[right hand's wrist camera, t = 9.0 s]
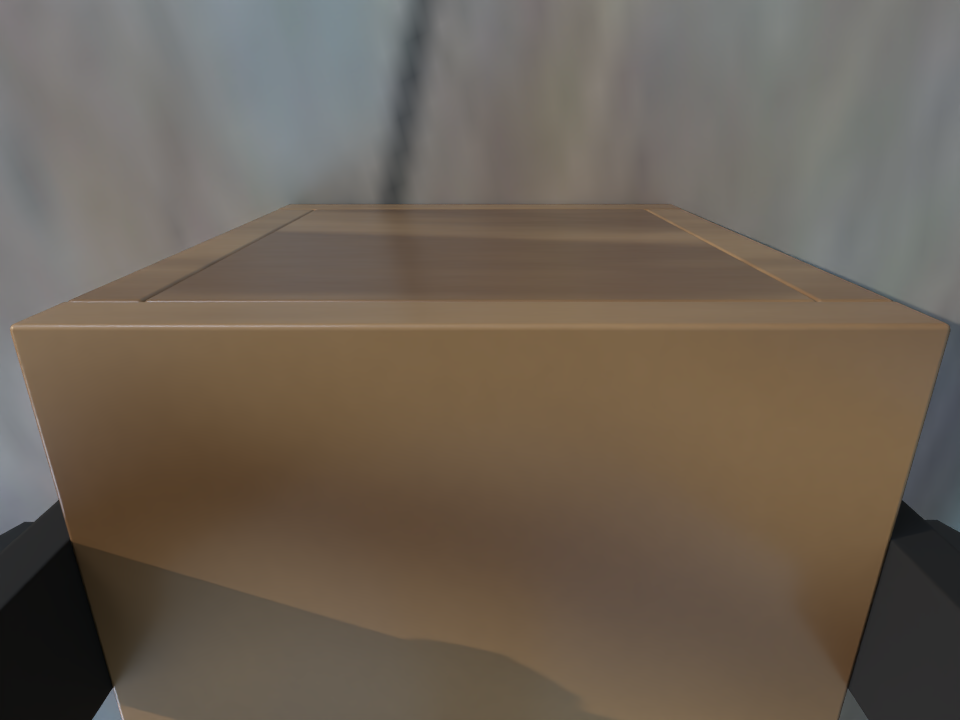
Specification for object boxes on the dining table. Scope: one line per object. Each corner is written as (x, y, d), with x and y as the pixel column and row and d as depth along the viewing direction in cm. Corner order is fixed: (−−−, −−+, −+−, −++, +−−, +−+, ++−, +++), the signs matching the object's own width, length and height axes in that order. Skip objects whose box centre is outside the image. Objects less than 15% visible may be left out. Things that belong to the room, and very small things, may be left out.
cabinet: (615, 728, 25) (712, 1165, 15) (345, 728, 25) (248, 1164, 15) (672, 203, 18) (955, 324, 7) (287, 204, 18) (4, 324, 7)
